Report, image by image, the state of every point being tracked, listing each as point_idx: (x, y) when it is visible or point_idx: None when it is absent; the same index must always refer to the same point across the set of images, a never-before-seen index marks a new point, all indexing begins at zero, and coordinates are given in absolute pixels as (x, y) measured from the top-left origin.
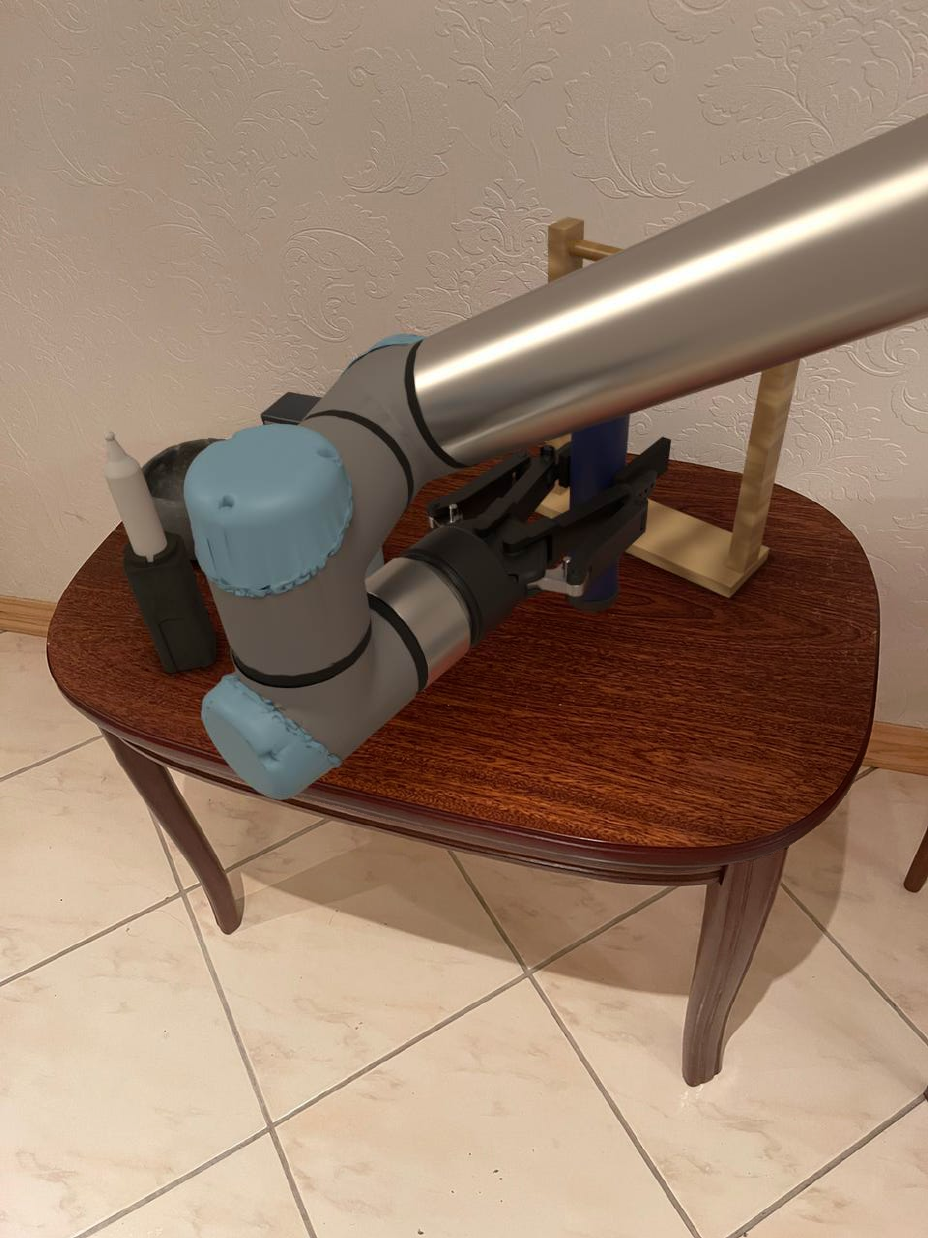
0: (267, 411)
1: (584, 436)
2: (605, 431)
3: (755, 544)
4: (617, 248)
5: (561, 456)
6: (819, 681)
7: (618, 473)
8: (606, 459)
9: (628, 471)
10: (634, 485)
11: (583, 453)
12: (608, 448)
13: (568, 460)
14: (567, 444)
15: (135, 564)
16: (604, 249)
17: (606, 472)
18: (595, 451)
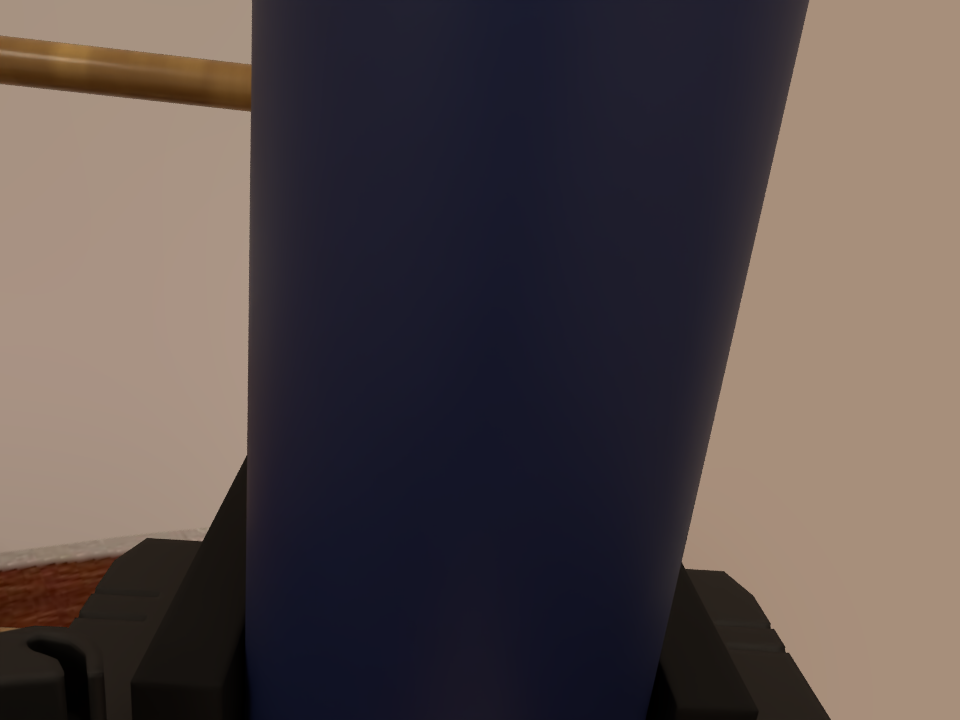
0: None
1: (523, 432)
2: (706, 339)
3: None
4: (41, 41)
5: (160, 690)
6: None
7: (679, 670)
8: (660, 599)
9: (702, 629)
10: (780, 711)
11: (488, 613)
12: (688, 499)
13: (227, 700)
14: (124, 574)
15: None
16: (1, 41)
17: (642, 702)
18: (613, 558)
